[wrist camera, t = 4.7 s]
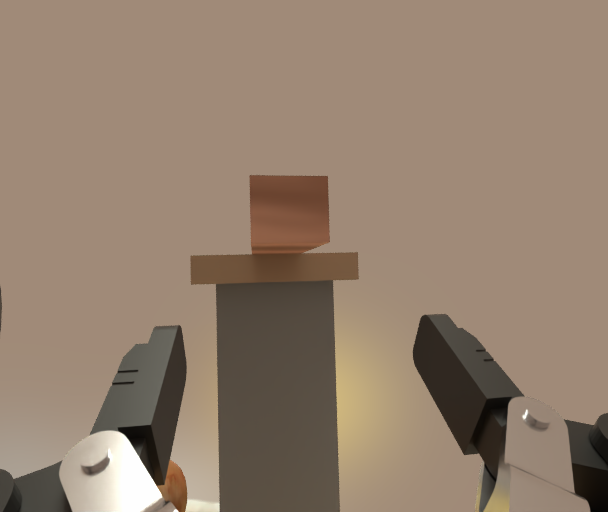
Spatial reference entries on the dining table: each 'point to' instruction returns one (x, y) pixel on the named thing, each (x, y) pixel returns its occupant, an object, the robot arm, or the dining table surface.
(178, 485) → the onion
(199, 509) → the dining table surface
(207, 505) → the dining table surface
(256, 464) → the stand
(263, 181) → the batten
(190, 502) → the dining table surface
